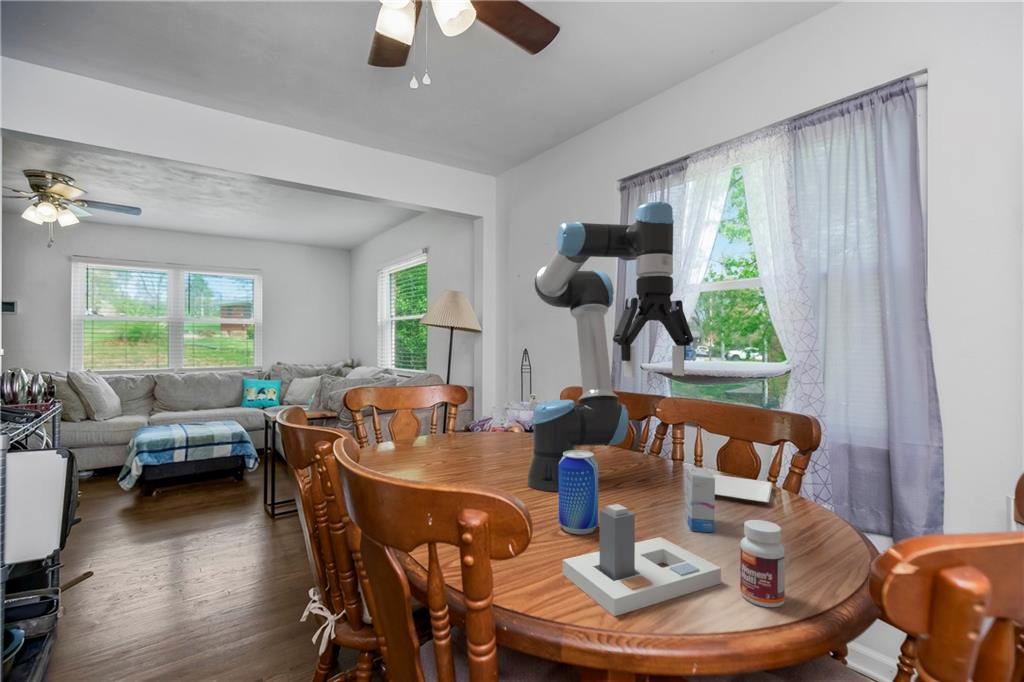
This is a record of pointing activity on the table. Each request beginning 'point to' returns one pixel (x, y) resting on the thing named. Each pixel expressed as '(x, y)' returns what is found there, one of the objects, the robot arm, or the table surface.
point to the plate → (742, 489)
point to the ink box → (699, 499)
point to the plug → (617, 542)
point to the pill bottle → (762, 564)
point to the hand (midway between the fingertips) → (654, 376)
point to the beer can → (578, 492)
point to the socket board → (643, 576)
